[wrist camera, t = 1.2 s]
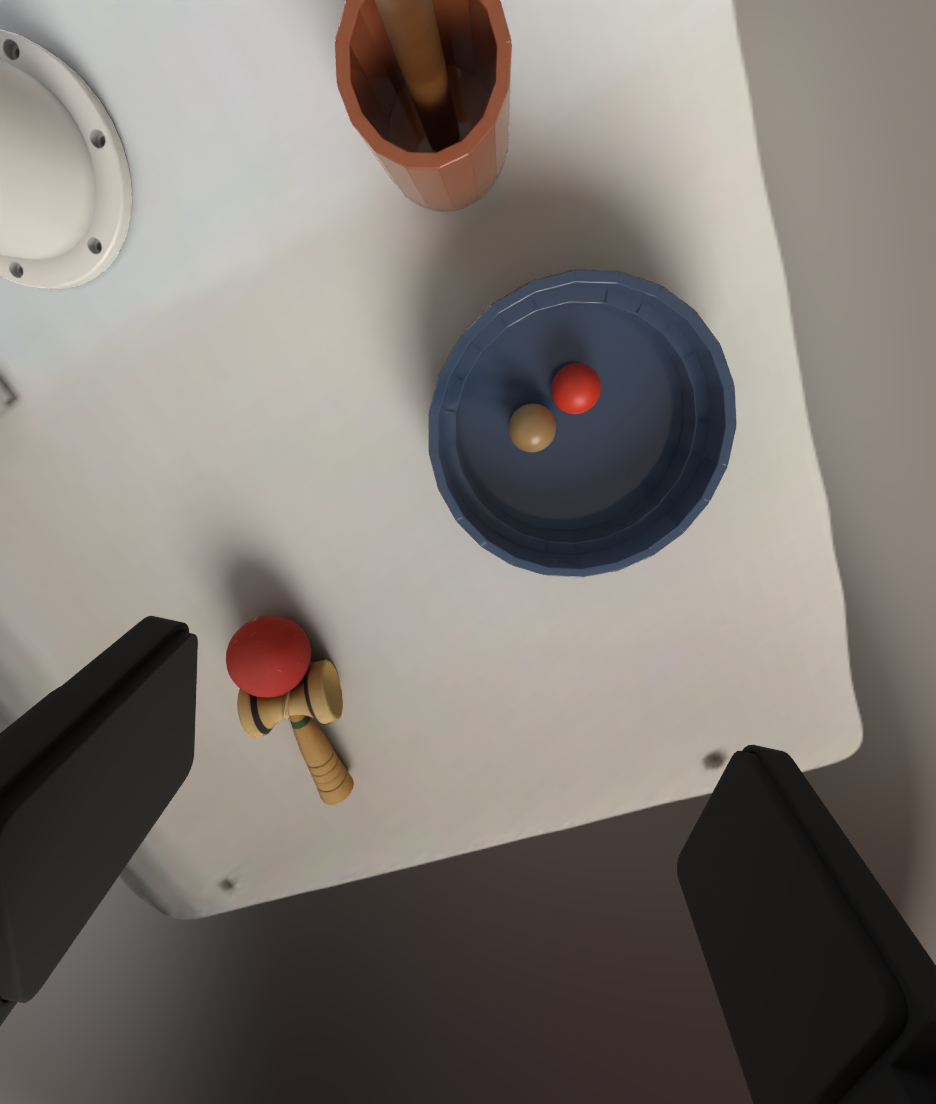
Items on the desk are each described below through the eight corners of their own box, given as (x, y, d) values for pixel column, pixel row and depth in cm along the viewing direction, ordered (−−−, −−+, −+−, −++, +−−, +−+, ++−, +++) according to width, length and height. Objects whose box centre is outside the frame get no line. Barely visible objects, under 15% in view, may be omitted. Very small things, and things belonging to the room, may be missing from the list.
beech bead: (498, 423, 35) (498, 430, 33) (533, 390, 35) (536, 395, 32) (528, 456, 36) (530, 466, 33) (563, 425, 35) (568, 433, 33)
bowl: (386, 417, 36) (367, 430, 31) (589, 211, 31) (606, 187, 26) (551, 589, 40) (558, 626, 35) (754, 432, 35) (797, 449, 30)
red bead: (539, 385, 34) (542, 389, 32) (576, 351, 34) (583, 352, 31) (569, 420, 35) (575, 427, 32) (606, 388, 34) (615, 392, 31)
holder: (354, 135, 31) (299, 61, 22) (445, 20, 28) (422, -110, 20) (443, 241, 32) (422, 208, 24) (535, 139, 30) (547, 64, 22)
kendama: (392, 756, 49) (318, 596, 40) (368, 821, 44) (276, 653, 35) (318, 755, 51) (233, 604, 43) (287, 818, 46) (182, 659, 37)
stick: (420, 133, 30) (316, -122, 13) (443, 105, 29) (366, -197, 13) (443, 161, 30) (370, -51, 14) (466, 134, 30) (420, -121, 13)
